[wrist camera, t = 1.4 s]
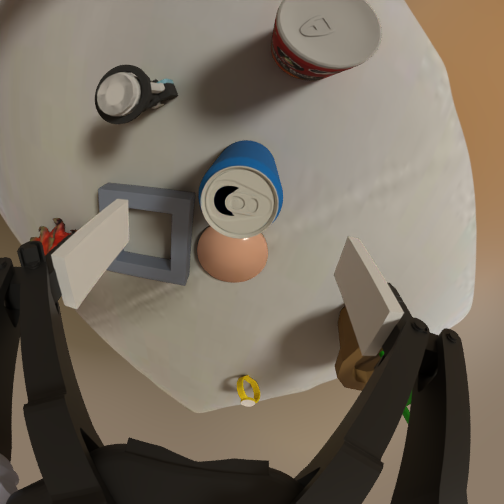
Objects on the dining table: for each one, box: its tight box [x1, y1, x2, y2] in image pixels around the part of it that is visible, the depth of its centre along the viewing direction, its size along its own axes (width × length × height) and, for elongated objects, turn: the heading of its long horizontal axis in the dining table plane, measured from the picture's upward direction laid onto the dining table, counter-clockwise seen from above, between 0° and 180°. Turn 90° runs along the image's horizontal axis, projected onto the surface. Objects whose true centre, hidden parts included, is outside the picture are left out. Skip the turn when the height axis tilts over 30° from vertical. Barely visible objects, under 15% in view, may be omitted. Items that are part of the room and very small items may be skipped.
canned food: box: [271, 0, 382, 80], centre depth 18 cm, size 8×8×11 cm
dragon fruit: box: [30, 218, 77, 255], centre depth 32 cm, size 8×8×12 cm
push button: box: [95, 65, 178, 124], centre depth 21 cm, size 7×5×10 cm
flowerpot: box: [335, 306, 412, 423], centre depth 28 cm, size 14×14×30 cm
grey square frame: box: [98, 183, 195, 286], centre depth 33 cm, size 12×12×2 cm
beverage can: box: [199, 140, 283, 239], centre depth 24 cm, size 6×6×12 cm
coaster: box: [197, 226, 268, 282], centre depth 35 cm, size 9×9×1 cm
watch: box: [237, 375, 260, 406], centre depth 48 cm, size 6×3×6 cm, turn 36°
